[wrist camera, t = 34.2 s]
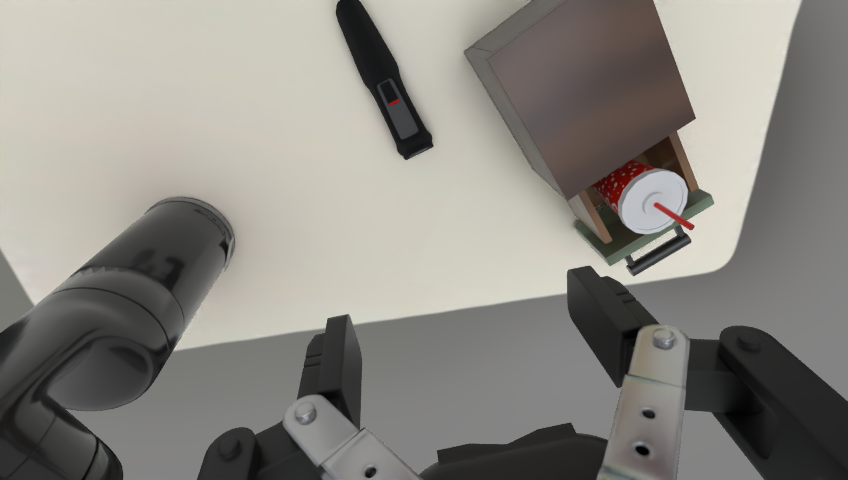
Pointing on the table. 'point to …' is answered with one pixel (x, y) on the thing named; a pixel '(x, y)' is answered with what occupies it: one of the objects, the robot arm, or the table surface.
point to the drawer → (621, 241)
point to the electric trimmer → (382, 78)
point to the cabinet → (582, 85)
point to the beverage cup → (644, 196)
